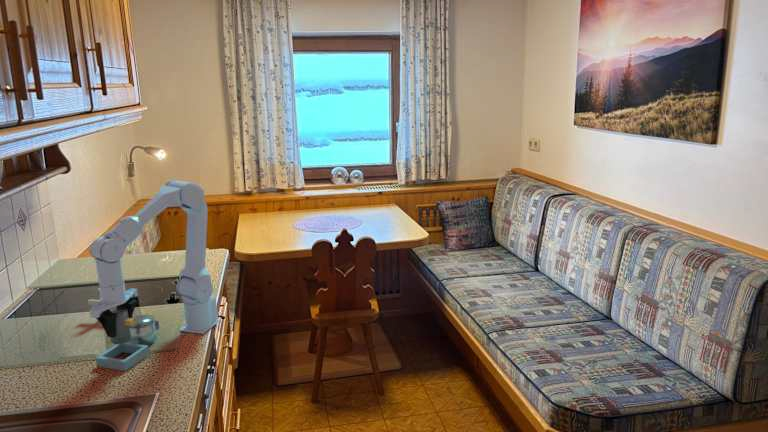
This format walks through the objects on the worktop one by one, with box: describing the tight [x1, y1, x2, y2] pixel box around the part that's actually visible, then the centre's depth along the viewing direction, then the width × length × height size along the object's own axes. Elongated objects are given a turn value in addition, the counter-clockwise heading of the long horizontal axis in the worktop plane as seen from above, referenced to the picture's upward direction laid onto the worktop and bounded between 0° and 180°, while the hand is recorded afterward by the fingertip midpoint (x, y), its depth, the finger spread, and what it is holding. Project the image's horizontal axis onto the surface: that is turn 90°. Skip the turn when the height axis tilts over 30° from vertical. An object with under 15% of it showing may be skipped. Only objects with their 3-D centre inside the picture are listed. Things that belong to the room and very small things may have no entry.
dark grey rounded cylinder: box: [110, 307, 135, 345], centre depth 145 cm, size 5×6×8 cm
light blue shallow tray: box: [95, 342, 151, 372], centre depth 148 cm, size 9×9×2 cm
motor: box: [127, 314, 160, 347], centre depth 157 cm, size 11×7×7 cm
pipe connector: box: [87, 287, 101, 311], centre depth 172 cm, size 10×10×10 cm
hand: (119, 331), depth 146 cm, fingers closed on dark grey rounded cylinder, 5 cm apart
